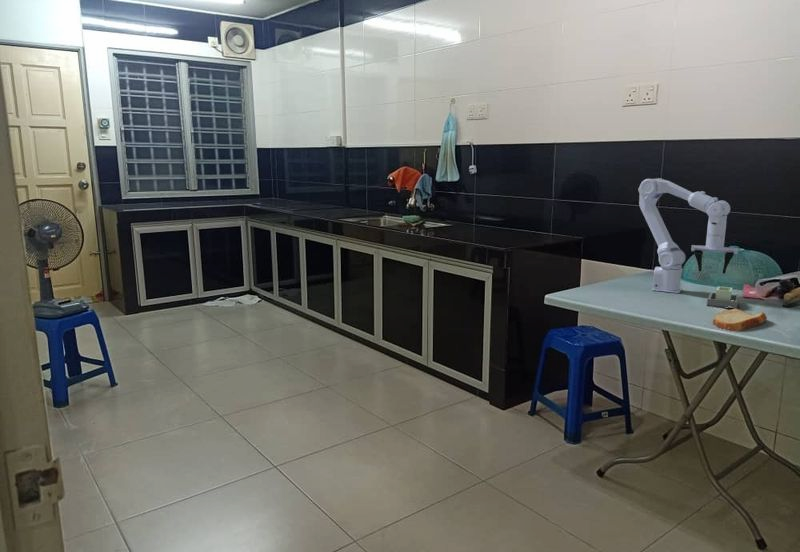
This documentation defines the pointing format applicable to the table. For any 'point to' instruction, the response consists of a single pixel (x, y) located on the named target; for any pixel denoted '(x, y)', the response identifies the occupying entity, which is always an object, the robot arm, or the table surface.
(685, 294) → the table surface
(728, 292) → the small crate
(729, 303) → the grey rectangular tray
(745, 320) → the bread slice
